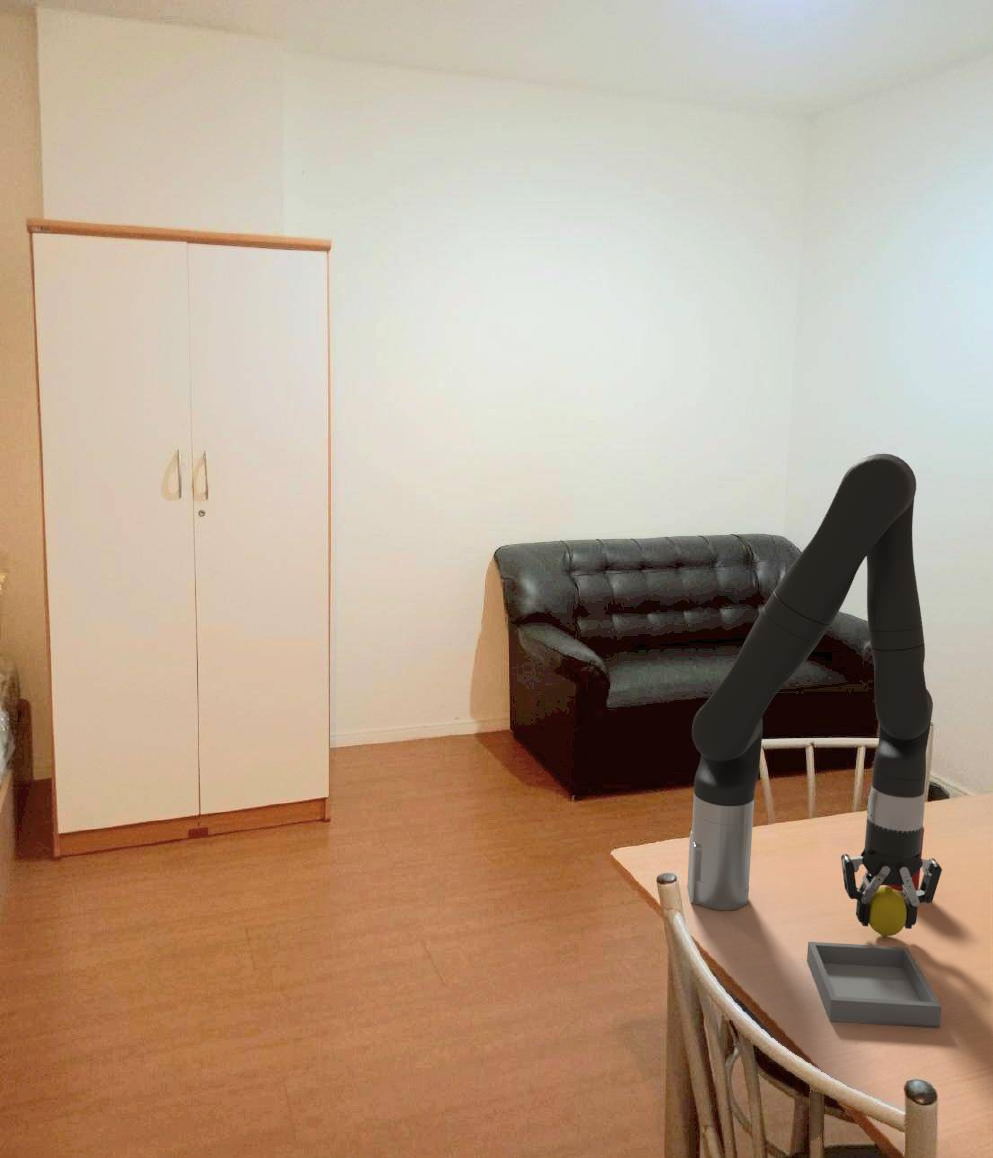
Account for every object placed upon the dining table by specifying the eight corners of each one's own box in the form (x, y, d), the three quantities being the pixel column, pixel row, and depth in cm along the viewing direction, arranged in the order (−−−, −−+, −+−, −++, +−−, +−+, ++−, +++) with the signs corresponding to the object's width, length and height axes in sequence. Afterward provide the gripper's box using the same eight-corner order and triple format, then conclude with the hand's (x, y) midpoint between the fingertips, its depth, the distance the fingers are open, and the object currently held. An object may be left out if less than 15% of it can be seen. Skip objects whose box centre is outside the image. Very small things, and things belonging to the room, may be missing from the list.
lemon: (886, 950, 143) (890, 899, 142) (856, 932, 148) (860, 882, 146) (912, 941, 146) (917, 891, 144) (882, 923, 150) (886, 874, 149)
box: (829, 1020, 127) (831, 999, 127) (806, 961, 140) (808, 941, 140) (939, 1027, 126) (941, 1006, 125) (906, 966, 139) (907, 947, 139)
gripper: (850, 826, 140) (841, 935, 143) (956, 831, 139) (944, 941, 142) (837, 804, 148) (829, 909, 151) (937, 809, 146) (927, 914, 149)
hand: (885, 924), depth 146 cm, fingers closed on lemon, 5 cm apart
